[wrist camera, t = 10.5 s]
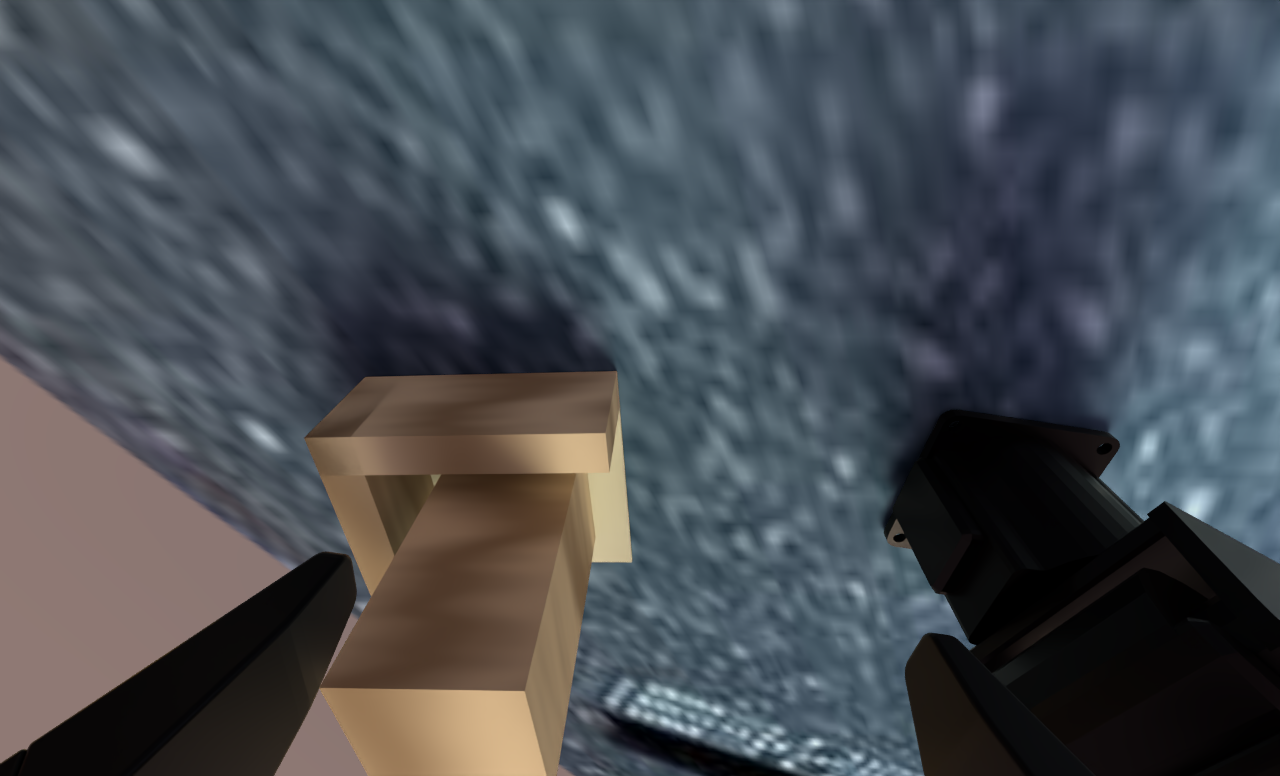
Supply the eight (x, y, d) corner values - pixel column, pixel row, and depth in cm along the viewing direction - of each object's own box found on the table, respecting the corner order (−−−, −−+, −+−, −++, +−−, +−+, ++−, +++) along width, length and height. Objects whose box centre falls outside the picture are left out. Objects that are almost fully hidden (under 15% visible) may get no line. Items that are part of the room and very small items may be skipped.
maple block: (583, 442, 22) (524, 690, 13) (595, 537, 24) (552, 799, 15) (453, 444, 22) (311, 687, 13) (478, 537, 24) (371, 794, 16)
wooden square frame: (616, 370, 20) (605, 433, 17) (632, 558, 25) (625, 637, 21) (365, 376, 21) (304, 437, 17) (426, 558, 26) (387, 635, 22)
